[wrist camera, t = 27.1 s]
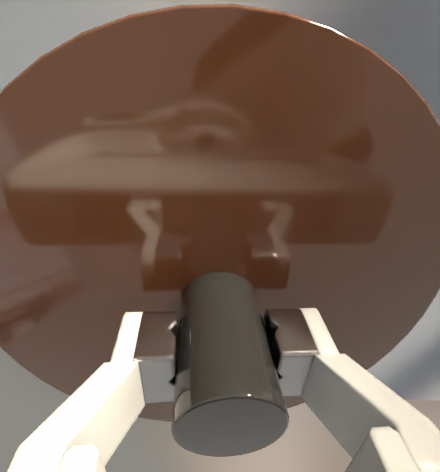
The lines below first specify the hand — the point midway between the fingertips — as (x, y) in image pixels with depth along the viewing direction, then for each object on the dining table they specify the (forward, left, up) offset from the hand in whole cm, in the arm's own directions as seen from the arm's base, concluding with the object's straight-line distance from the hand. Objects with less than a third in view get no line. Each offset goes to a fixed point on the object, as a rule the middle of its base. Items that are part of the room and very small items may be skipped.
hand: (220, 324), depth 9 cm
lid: (0, 0, -2) cm, 2 cm away
